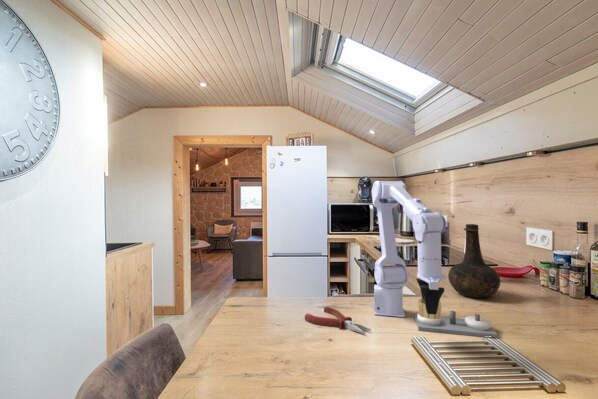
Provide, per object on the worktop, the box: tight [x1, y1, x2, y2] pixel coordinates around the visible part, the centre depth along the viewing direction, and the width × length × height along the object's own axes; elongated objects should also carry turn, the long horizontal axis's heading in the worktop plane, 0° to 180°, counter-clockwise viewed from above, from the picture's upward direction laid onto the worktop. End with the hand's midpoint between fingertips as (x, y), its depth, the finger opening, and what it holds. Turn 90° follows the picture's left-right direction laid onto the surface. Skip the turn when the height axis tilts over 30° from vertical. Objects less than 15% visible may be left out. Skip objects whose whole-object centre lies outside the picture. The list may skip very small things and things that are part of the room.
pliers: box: [304, 306, 372, 335], centre depth 91 cm, size 12×20×3 cm, turn 44°
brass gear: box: [418, 297, 442, 319], centre depth 79 cm, size 5×5×4 cm
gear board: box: [414, 310, 499, 339], centre depth 89 cm, size 20×10×4 cm, turn 75°
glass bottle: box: [447, 223, 501, 299], centre depth 120 cm, size 18×18×28 cm
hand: (429, 309), depth 79 cm, fingers closed on brass gear, 5 cm apart
